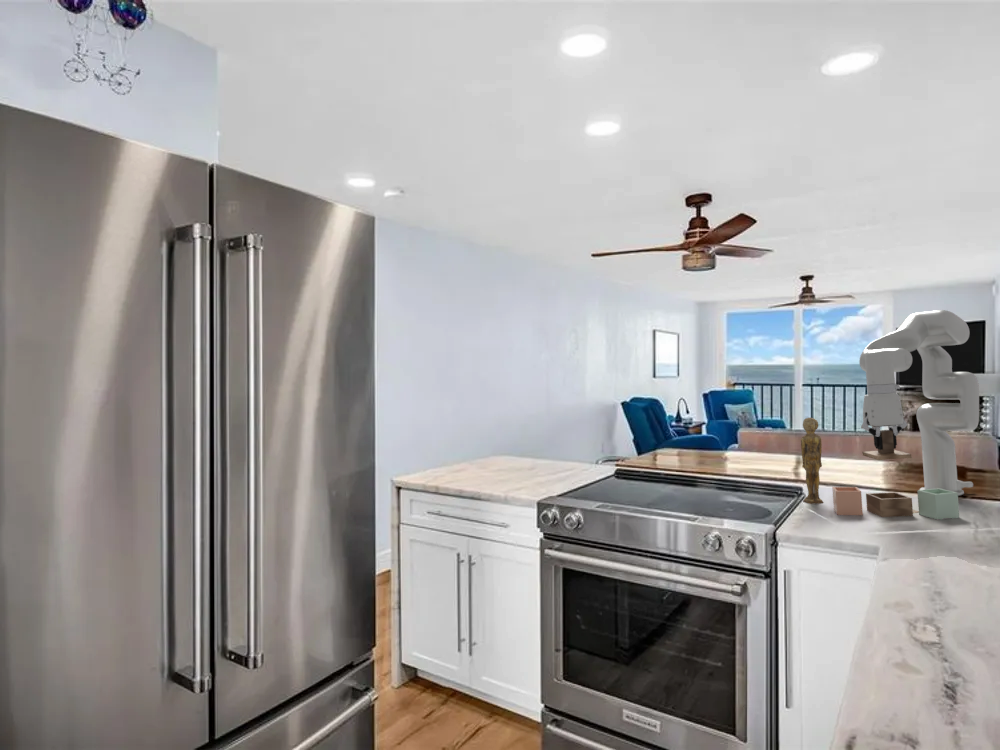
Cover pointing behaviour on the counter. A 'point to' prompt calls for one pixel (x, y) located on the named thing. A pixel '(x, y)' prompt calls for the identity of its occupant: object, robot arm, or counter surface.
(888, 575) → the counter surface
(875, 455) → the lid
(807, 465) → the sculpture
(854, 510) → the canister terracotta
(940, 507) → the box
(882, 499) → the box
